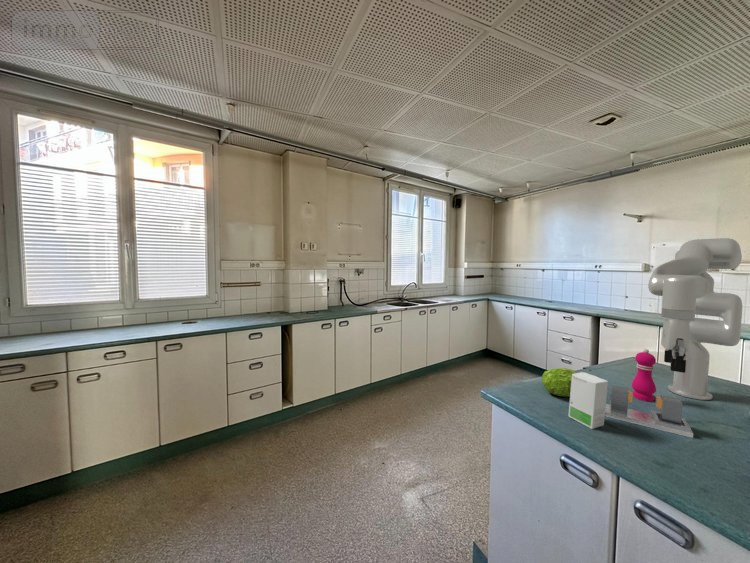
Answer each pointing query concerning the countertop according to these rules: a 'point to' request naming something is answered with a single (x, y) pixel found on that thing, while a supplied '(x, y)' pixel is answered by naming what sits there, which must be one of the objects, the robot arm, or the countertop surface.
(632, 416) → the rail
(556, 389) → the lettuce
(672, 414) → the grey block
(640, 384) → the pepper mill
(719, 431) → the countertop surface
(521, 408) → the countertop surface
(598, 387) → the skincare box
